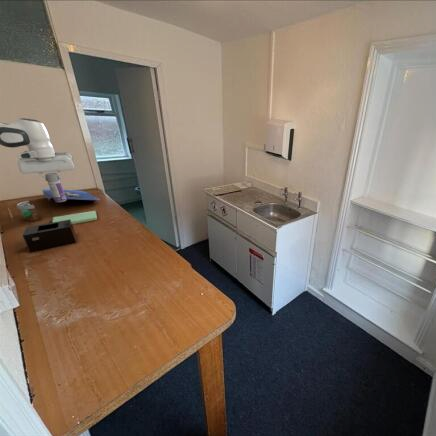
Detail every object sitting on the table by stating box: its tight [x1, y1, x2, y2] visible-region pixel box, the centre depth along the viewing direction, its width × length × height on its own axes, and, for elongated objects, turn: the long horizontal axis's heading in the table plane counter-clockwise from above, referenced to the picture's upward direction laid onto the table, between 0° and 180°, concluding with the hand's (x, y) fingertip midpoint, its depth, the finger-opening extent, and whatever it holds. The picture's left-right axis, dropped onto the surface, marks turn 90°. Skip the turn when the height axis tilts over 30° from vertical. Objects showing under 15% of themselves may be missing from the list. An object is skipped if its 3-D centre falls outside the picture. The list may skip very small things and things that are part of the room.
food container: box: [16, 200, 40, 222], centre depth 138 cm, size 12×6×10 cm, turn 55°
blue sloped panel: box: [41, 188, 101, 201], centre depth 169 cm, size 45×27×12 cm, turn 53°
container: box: [44, 172, 68, 203], centre depth 125 cm, size 5×5×15 cm
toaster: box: [22, 220, 77, 253], centre depth 114 cm, size 16×12×9 cm
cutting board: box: [51, 210, 98, 225], centre depth 142 cm, size 20×14×2 cm
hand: (53, 179), depth 123 cm, fingers closed on container, 3 cm apart
